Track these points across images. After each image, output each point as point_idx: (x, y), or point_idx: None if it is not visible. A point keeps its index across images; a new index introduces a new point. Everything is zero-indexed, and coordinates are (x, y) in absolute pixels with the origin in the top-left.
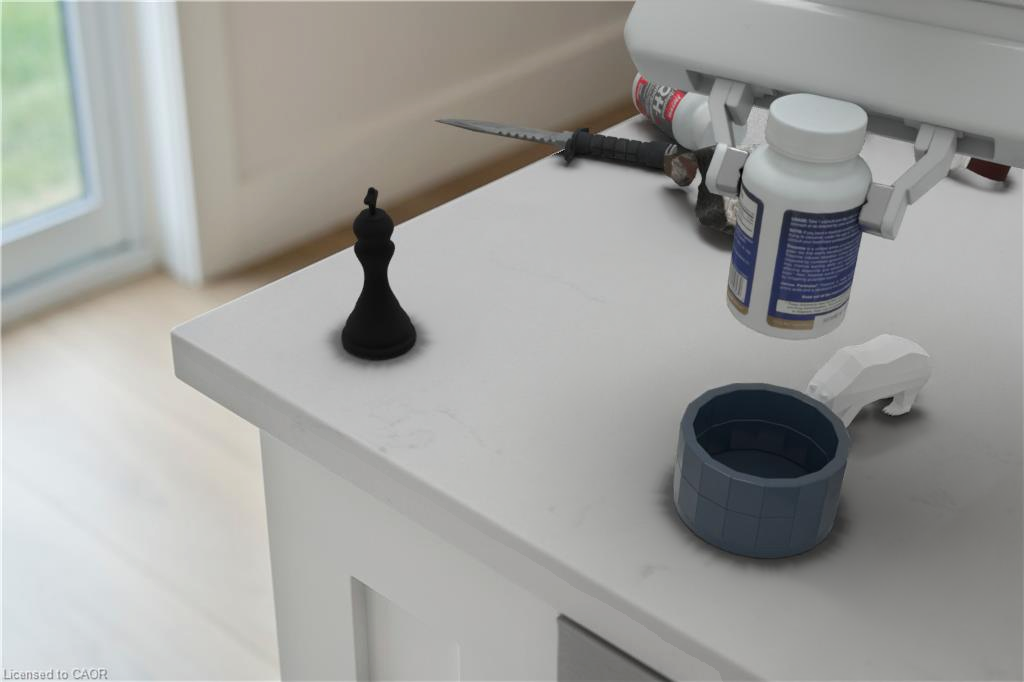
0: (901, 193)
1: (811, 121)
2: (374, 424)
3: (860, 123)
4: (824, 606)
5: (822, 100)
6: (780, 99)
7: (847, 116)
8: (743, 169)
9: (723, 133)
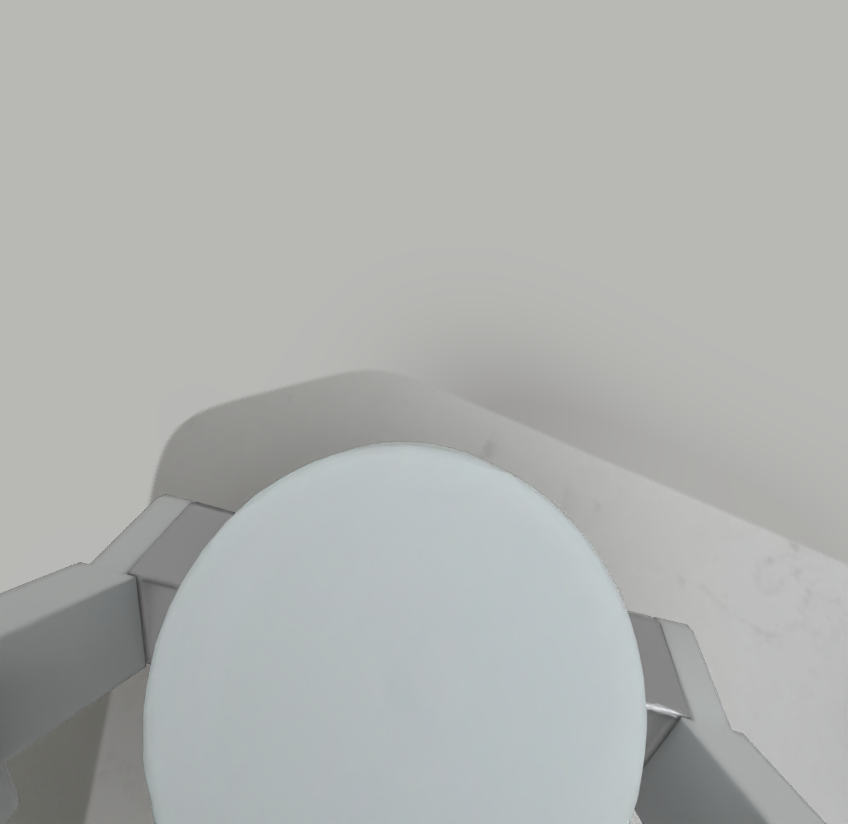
0: (110, 551)
1: (424, 544)
2: (826, 586)
3: (187, 595)
4: (327, 450)
5: None
6: (615, 803)
7: (249, 675)
8: None
9: (742, 766)
